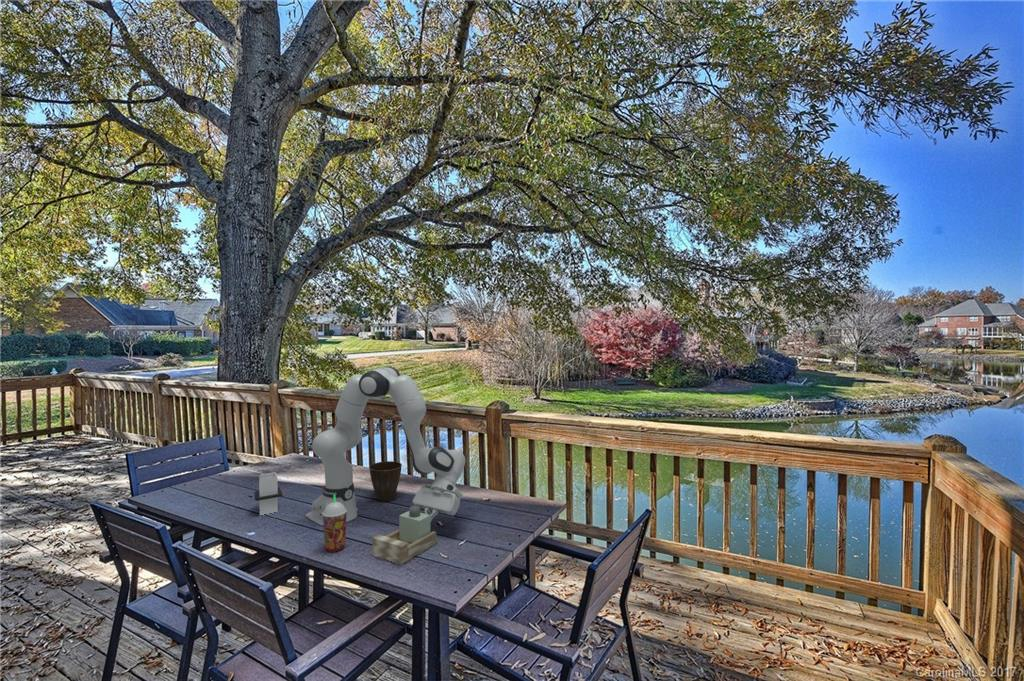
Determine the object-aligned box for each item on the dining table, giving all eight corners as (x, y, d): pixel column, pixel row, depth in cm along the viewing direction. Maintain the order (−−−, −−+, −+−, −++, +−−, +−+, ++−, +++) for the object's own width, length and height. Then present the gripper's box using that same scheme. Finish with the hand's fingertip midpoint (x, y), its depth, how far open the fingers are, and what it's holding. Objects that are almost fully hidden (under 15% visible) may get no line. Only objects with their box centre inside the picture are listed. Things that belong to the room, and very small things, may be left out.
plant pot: (406, 493, 229) (405, 461, 229) (395, 505, 215) (395, 470, 214) (376, 493, 231) (376, 460, 230) (364, 504, 216) (363, 470, 216)
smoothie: (319, 548, 172) (318, 494, 172) (341, 541, 178) (340, 489, 178) (328, 556, 167) (328, 500, 166) (351, 548, 172) (350, 494, 172)
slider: (399, 539, 176) (399, 507, 175) (410, 533, 181) (410, 502, 181) (419, 545, 171) (419, 512, 170) (430, 538, 176) (430, 507, 176)
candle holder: (235, 508, 212) (234, 472, 212) (294, 498, 225) (293, 464, 225) (237, 528, 191) (237, 488, 191) (302, 515, 204) (301, 478, 204)
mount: (372, 555, 167) (372, 537, 167) (409, 535, 183) (409, 518, 183) (401, 565, 160) (401, 546, 160) (437, 543, 176) (437, 526, 176)
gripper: (419, 480, 193) (402, 511, 185) (459, 488, 183) (443, 522, 175) (426, 487, 197) (410, 518, 189) (466, 496, 187) (451, 529, 179)
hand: (426, 520), depth 182 cm, fingers closed
